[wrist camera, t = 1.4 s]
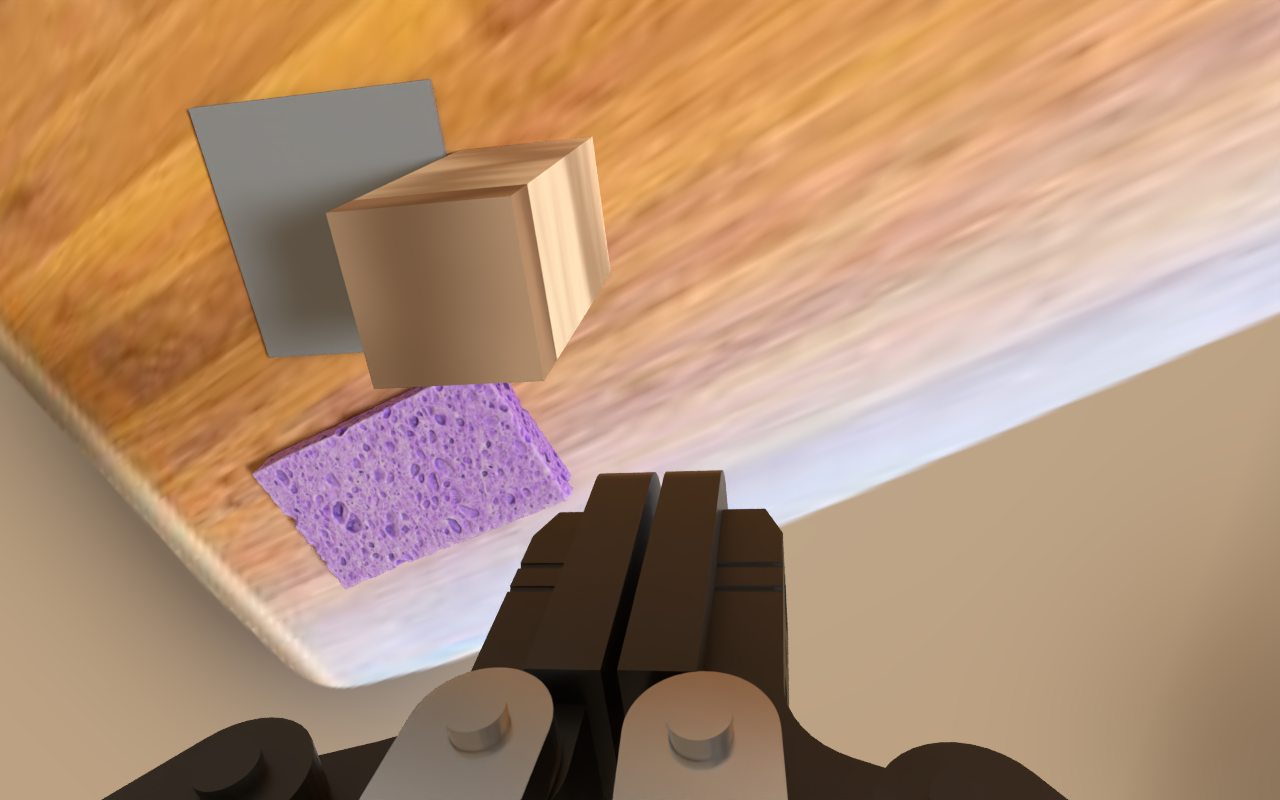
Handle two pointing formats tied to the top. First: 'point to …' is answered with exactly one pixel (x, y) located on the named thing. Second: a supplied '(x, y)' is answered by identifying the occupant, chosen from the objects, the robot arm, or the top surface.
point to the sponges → (415, 477)
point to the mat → (309, 195)
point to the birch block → (475, 264)
